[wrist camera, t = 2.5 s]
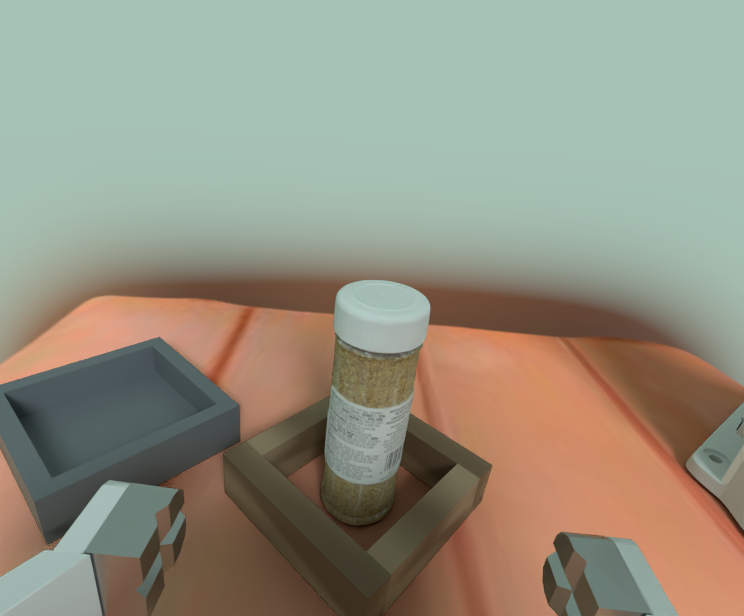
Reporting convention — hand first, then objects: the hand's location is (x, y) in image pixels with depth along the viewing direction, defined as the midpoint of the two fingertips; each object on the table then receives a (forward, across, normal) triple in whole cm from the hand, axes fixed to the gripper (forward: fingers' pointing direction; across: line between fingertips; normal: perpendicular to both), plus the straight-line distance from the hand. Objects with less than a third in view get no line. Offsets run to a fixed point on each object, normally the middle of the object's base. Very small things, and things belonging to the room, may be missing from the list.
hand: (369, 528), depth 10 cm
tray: (+16, +15, +13) cm, 26 cm away
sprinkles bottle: (+13, 0, +13) cm, 18 cm away
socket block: (+13, 0, +13) cm, 18 cm away
